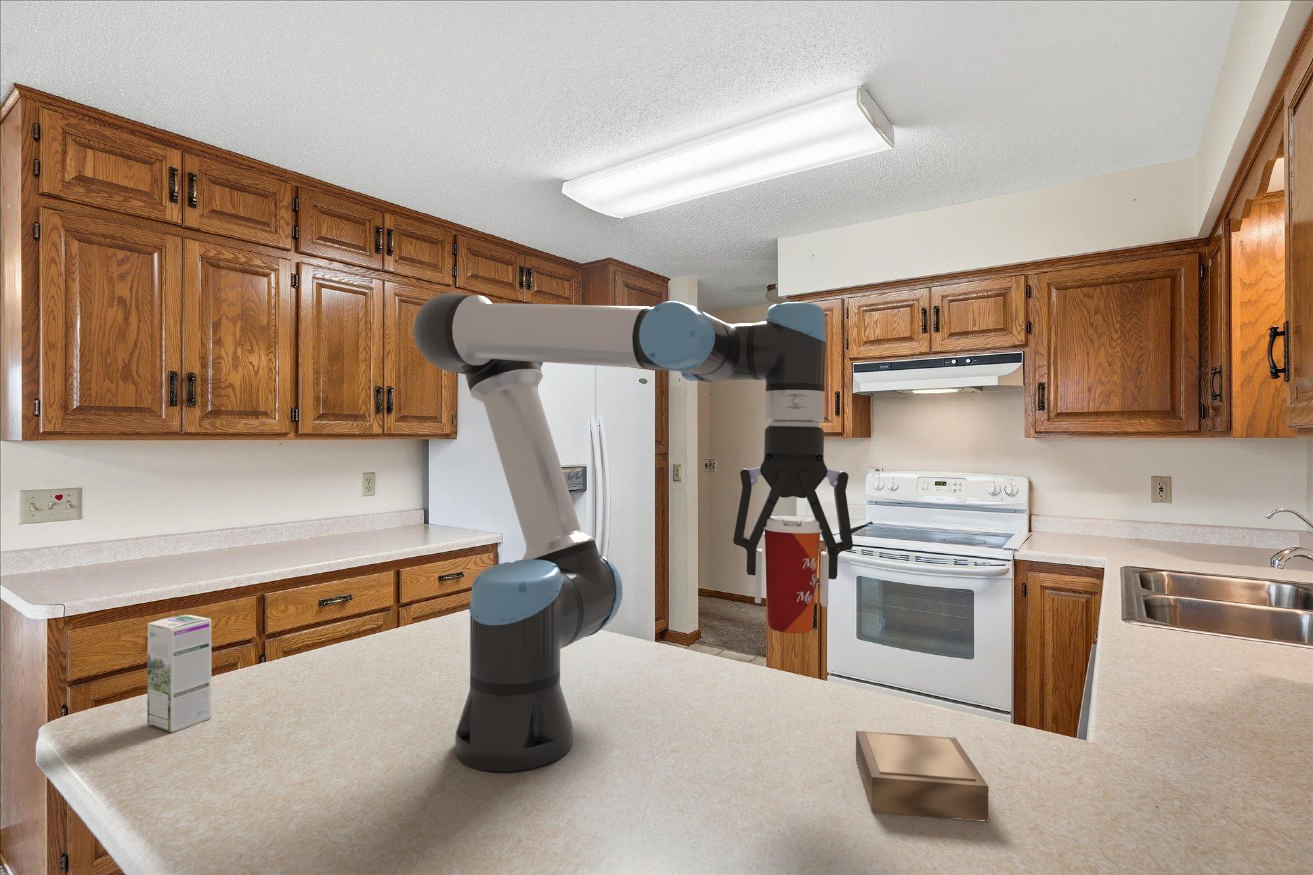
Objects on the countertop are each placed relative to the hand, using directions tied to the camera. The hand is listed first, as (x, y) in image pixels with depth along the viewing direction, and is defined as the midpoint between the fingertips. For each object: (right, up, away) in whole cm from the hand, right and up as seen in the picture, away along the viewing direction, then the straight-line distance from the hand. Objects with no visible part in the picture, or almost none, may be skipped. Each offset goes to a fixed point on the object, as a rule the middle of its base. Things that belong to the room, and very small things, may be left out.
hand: (790, 602), depth 87 cm
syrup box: (-85, -19, +8) cm, 87 cm away
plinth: (+13, -20, -8) cm, 25 cm away
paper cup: (0, -3, 0) cm, 3 cm away
